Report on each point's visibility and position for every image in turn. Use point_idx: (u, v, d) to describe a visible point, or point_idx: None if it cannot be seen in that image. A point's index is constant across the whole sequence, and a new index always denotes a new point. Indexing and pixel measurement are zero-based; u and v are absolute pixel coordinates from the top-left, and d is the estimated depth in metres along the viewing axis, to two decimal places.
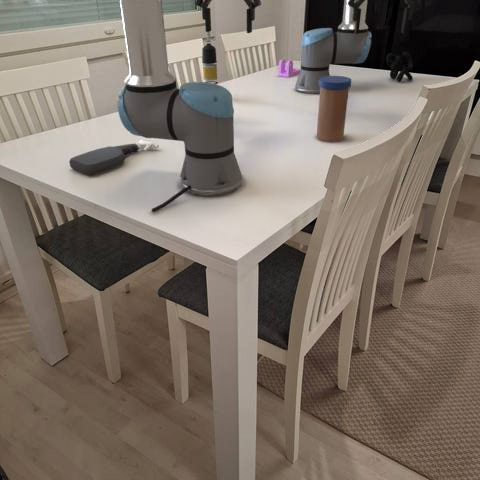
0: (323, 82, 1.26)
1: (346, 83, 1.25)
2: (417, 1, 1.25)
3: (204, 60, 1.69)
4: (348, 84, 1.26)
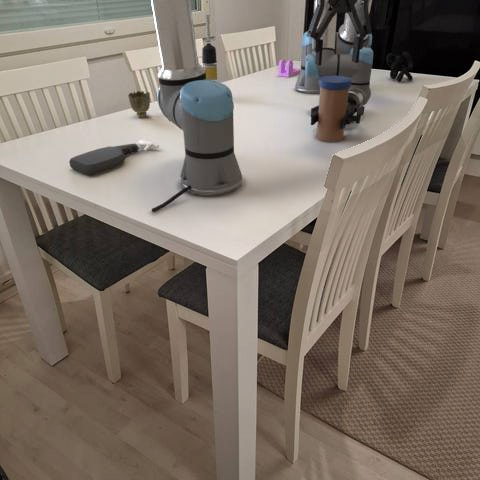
0: (323, 82, 1.26)
1: (346, 83, 1.25)
2: None
3: (204, 60, 1.69)
4: (348, 84, 1.26)
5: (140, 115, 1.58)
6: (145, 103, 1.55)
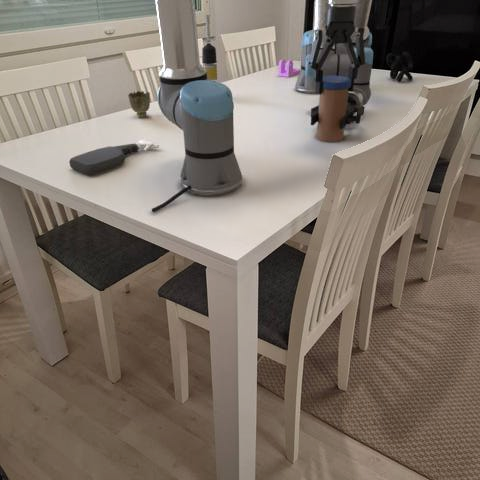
0: (323, 82, 1.26)
1: (346, 83, 1.25)
2: None
3: (204, 60, 1.69)
4: (348, 84, 1.26)
5: (140, 115, 1.58)
6: (145, 103, 1.55)
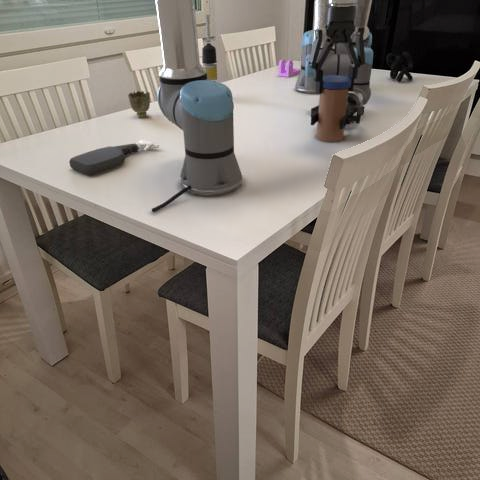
0: (345, 82, 1.25)
1: None
2: None
3: (204, 60, 1.69)
4: None
5: (140, 115, 1.58)
6: (145, 103, 1.55)
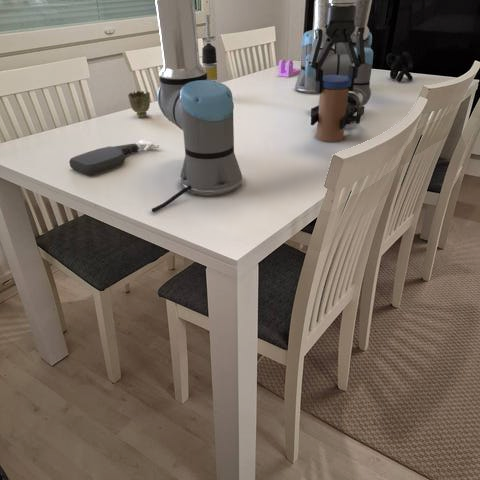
0: None
1: None
2: None
3: (204, 60, 1.69)
4: None
5: (140, 115, 1.58)
6: (145, 103, 1.55)
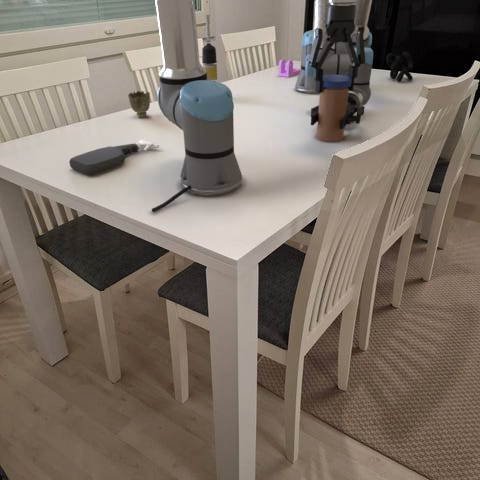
0: None
1: None
2: None
3: (204, 60, 1.69)
4: (323, 83, 1.26)
5: (140, 115, 1.58)
6: (145, 103, 1.55)
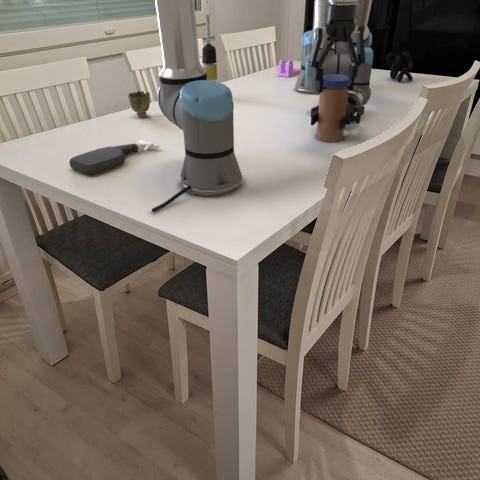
0: None
1: (343, 82, 1.25)
2: None
3: (204, 60, 1.69)
4: (345, 83, 1.25)
5: (140, 115, 1.58)
6: (145, 103, 1.55)
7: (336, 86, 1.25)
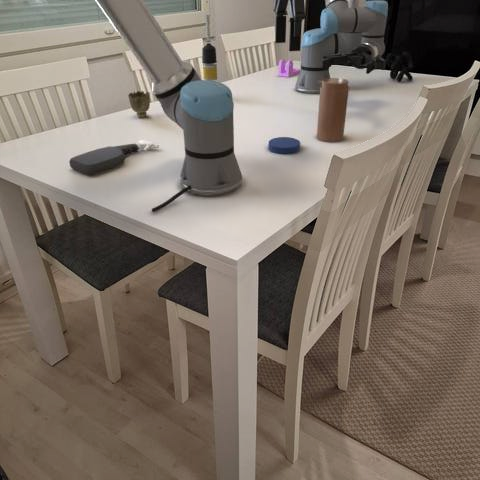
0: (289, 148, 1.26)
1: None
2: None
3: (204, 60, 1.69)
4: None
5: (140, 115, 1.58)
6: (145, 103, 1.55)
7: (299, 147, 1.29)
